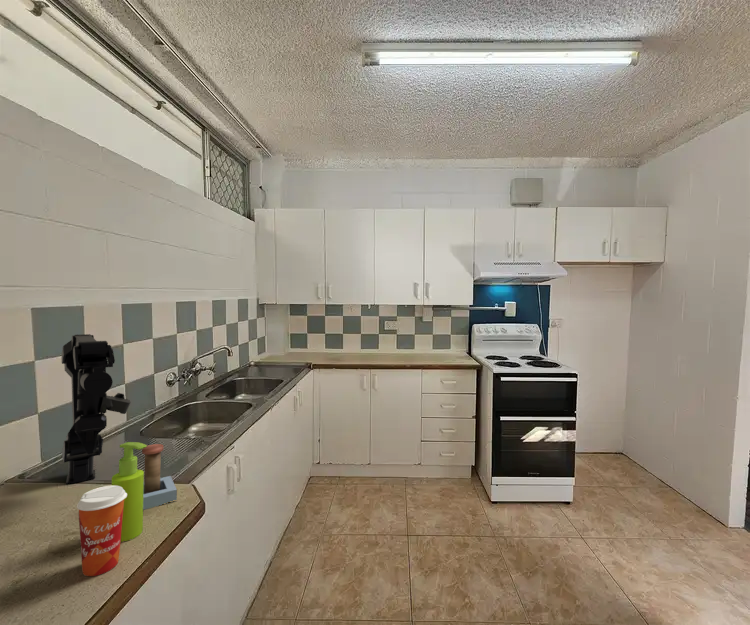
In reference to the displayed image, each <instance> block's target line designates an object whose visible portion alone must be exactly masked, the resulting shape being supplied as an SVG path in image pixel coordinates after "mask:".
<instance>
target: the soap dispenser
mask: <svg viewBox="0 0 750 625" xmlns="http://www.w3.org/2000/svg"><path fill="white" fill-rule="evenodd" d="M147 446H148V445H147V444H145V443H142V442H136V441H126V442H124V443H121V444H119V448H120V449H122V448H123V457H121V458H119V460H118V472H117V473H115V474H114V475H112V477H111V486H112V485H116V486H120V487H122V488H123V489H124V490H125V493H127V497H126V498H125V499H124V507H123V519H122V531H121V542H120V543H123V541H125V542H128V541H131V540H134V539H136V538H137V537H139V536H140V535H141V534H142V533H143V530H144V526H143V524H144V510H143V486H144V470H143V469H138V456H137V455H134V450H138V451H141V450H142V449H143V448H145V447H147ZM135 537H136V538H135ZM133 538H134V539H133ZM130 539H131V540H130Z"/></svg>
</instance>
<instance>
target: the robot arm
mask: <svg viewBox="0 0 750 625" xmlns="http://www.w3.org/2000/svg"><path fill="white" fill-rule="evenodd" d="M94 337H95V336H94V335H93V334H90V333H89V334H88V333H87V334H74V335H71V340H69V341H68V342H66V343H65V344H64V345H63V346H62V351H61V364H63V366H64V372H65V373H66V374H67V375H68V376H69V377H70V378H71V407H72V426H71V428H70V430H68V432H67V434H66V438H65V439H66V440H63V446H62V451H61V453H62V455H61V456H62V462H63V463H64V464H65V463H67V462H68V474H67V475H66V481H65V484H66V485H69V484H68V483H71V484H75V483H79V482H80V483H81V482H84V481H89V480H94V479H95V478H96V469H94V462H95V461H94V457H96V456H100V455H101V454H102V453H103V445H104V438H103V437H102V435H101V434H99V433H101V432H102V431H103V430H105V429H106V427H107V420H108V418H107V415H106V414H105V413H107V411H109V412H115V413H119V414H120V415H126V414H127V412H128V411H129V410H128V409H129V407H130V405H131V401H130V399H128V398H125V393H120V392H117V393H116V394H115V395H107V392H108V391H109V390H110V389H111V388H112V386H113V378H112V376H111V375H110V374H109V373H108V372H107V371H106V370H107V368H114V364H115V362H116V359H115V354H114V348H112V345H111V344H108V341H107V340H96V338H94Z"/></svg>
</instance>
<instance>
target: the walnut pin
mask: <svg viewBox="0 0 750 625" xmlns="http://www.w3.org/2000/svg"><path fill="white" fill-rule="evenodd" d="M163 451H164V445H163V444H160V443H154V444H149V445H147V447H145V448H143V449H141V454H143V455H144V470H143V471H144V494H147V493H151V492H155V491H159V490H160V478H161V465H162V464H161V460H162V458H161V456H162V452H163Z"/></svg>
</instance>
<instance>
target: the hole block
mask: <svg viewBox="0 0 750 625" xmlns="http://www.w3.org/2000/svg"><path fill="white" fill-rule="evenodd" d="M177 498H178V489H177V487H176V485H175V483H174V480H173V478H172V476H171V475H169V476H168V475H166V476H164V477H160V490H159V491H155V492H151V493H147V494H144V486H143V511H144V510H148V509H152V508H155V506H156V507H159V505H160V506H163V505H162V504H164V503H167V502H170V501H173V500H177ZM177 501H178V500H177ZM167 504H168V503H167ZM164 505H165V504H164Z"/></svg>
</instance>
